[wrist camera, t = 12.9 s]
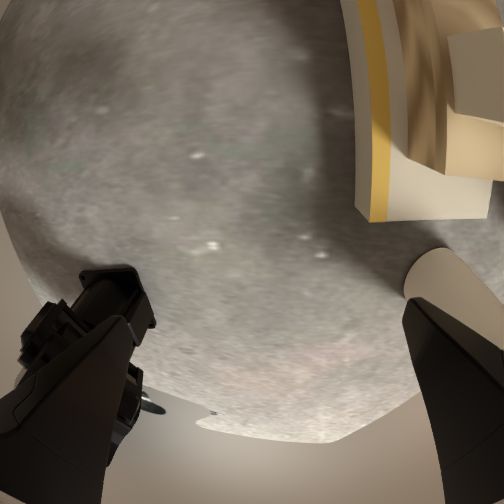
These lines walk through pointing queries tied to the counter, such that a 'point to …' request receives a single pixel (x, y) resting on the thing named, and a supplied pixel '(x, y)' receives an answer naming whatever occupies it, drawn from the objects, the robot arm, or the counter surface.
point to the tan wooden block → (445, 89)
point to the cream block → (479, 74)
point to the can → (457, 292)
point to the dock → (394, 130)
